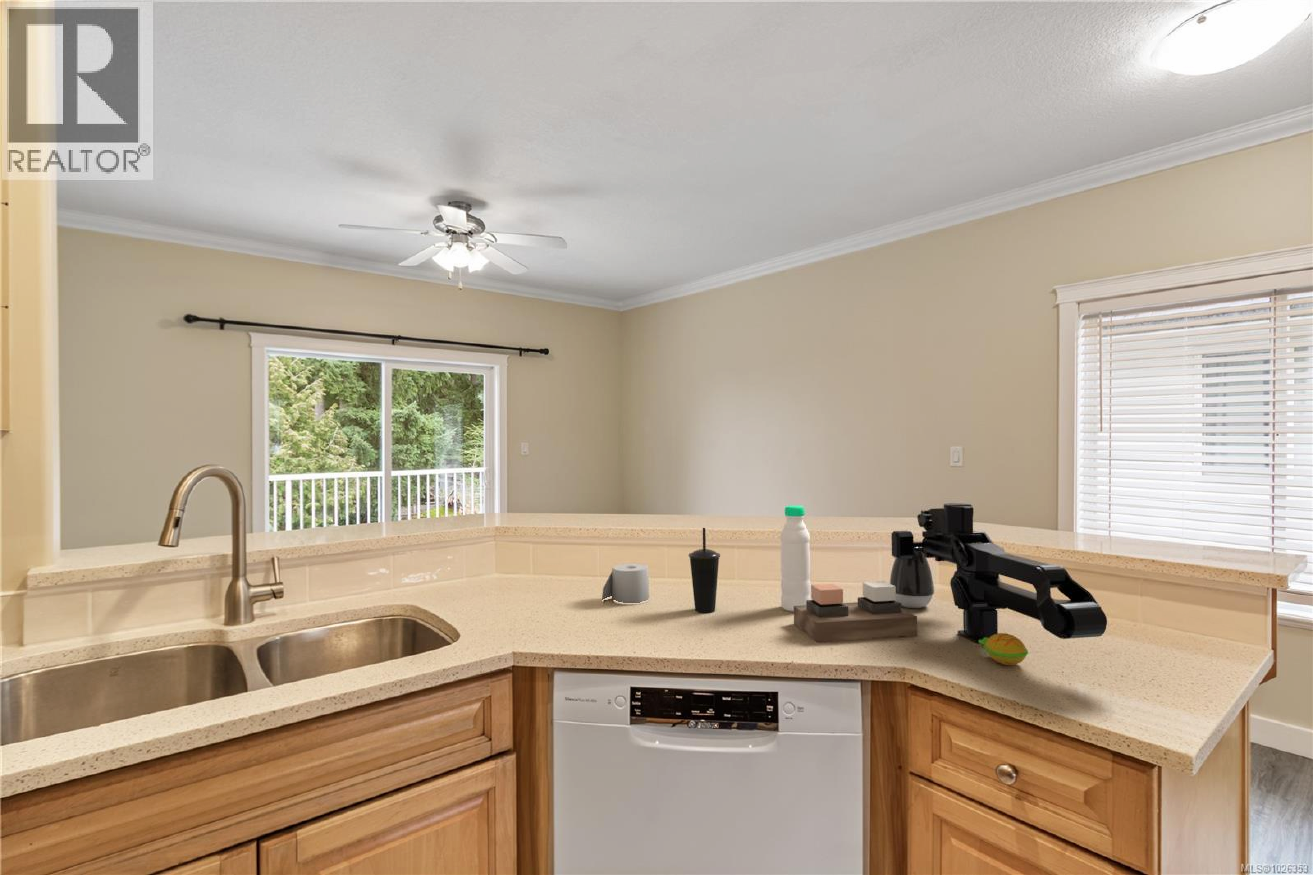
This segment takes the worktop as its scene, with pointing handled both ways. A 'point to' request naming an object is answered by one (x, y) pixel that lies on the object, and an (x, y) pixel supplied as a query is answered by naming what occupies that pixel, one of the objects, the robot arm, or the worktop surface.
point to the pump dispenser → (912, 581)
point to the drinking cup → (704, 577)
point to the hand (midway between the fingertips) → (911, 537)
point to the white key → (879, 591)
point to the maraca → (1005, 648)
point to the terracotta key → (827, 594)
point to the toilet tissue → (628, 583)
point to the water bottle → (795, 559)
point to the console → (854, 620)
